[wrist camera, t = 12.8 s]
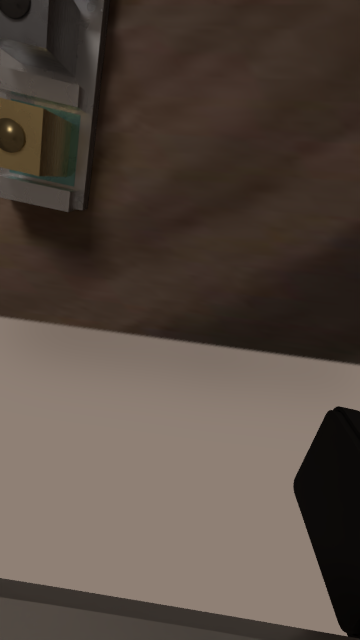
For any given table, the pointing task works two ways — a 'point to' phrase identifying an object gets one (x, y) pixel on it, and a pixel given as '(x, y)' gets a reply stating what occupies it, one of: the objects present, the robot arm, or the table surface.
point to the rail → (61, 113)
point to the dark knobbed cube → (41, 33)
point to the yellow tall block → (33, 140)
